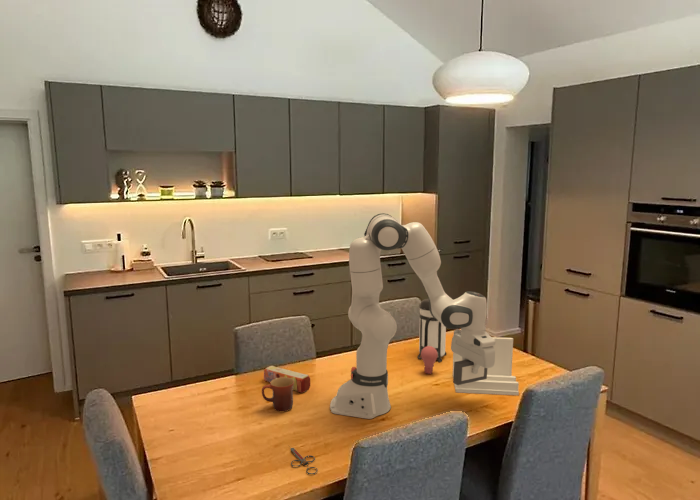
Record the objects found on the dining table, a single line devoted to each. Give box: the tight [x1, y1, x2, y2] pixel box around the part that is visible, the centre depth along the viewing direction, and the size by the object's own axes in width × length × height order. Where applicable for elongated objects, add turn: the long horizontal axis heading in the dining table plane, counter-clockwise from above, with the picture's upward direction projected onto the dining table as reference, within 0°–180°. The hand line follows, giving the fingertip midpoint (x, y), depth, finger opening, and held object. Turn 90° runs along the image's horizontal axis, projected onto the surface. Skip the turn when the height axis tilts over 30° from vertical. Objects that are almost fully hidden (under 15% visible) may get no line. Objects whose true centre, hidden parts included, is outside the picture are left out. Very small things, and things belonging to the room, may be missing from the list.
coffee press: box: [417, 298, 447, 363], centre depth 235 cm, size 17×16×30 cm
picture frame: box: [452, 359, 487, 385], centre depth 190 cm, size 14×3×8 cm, turn 118°
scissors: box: [288, 445, 318, 475], centre depth 156 cm, size 8×18×2 cm, turn 32°
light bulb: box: [420, 346, 438, 374], centre depth 220 cm, size 7×7×12 cm
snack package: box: [263, 365, 311, 394], centre depth 209 cm, size 21×7×7 cm, turn 55°
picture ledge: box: [452, 336, 520, 396], centre depth 207 cm, size 24×17×18 cm
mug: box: [261, 377, 294, 412], centre depth 188 cm, size 12×9×10 cm
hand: (470, 371), depth 190 cm, fingers closed on picture frame, 3 cm apart
